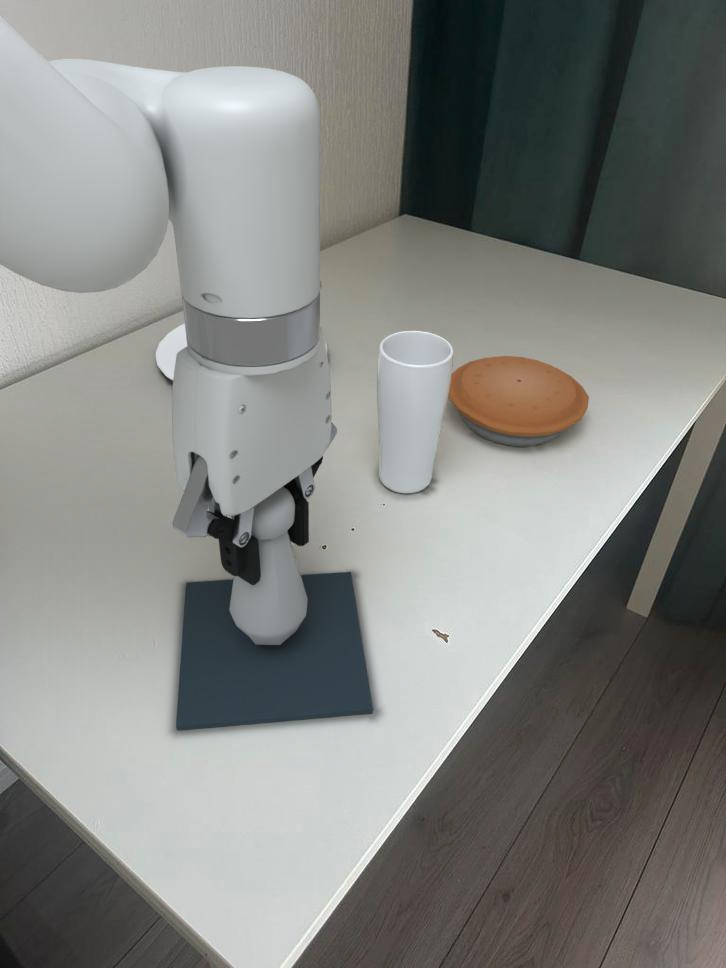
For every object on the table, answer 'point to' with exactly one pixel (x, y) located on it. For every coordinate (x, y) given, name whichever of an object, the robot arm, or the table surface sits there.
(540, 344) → the table surface
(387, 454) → the drinking glass
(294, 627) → the salt shaker
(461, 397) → the pie
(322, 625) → the mat
